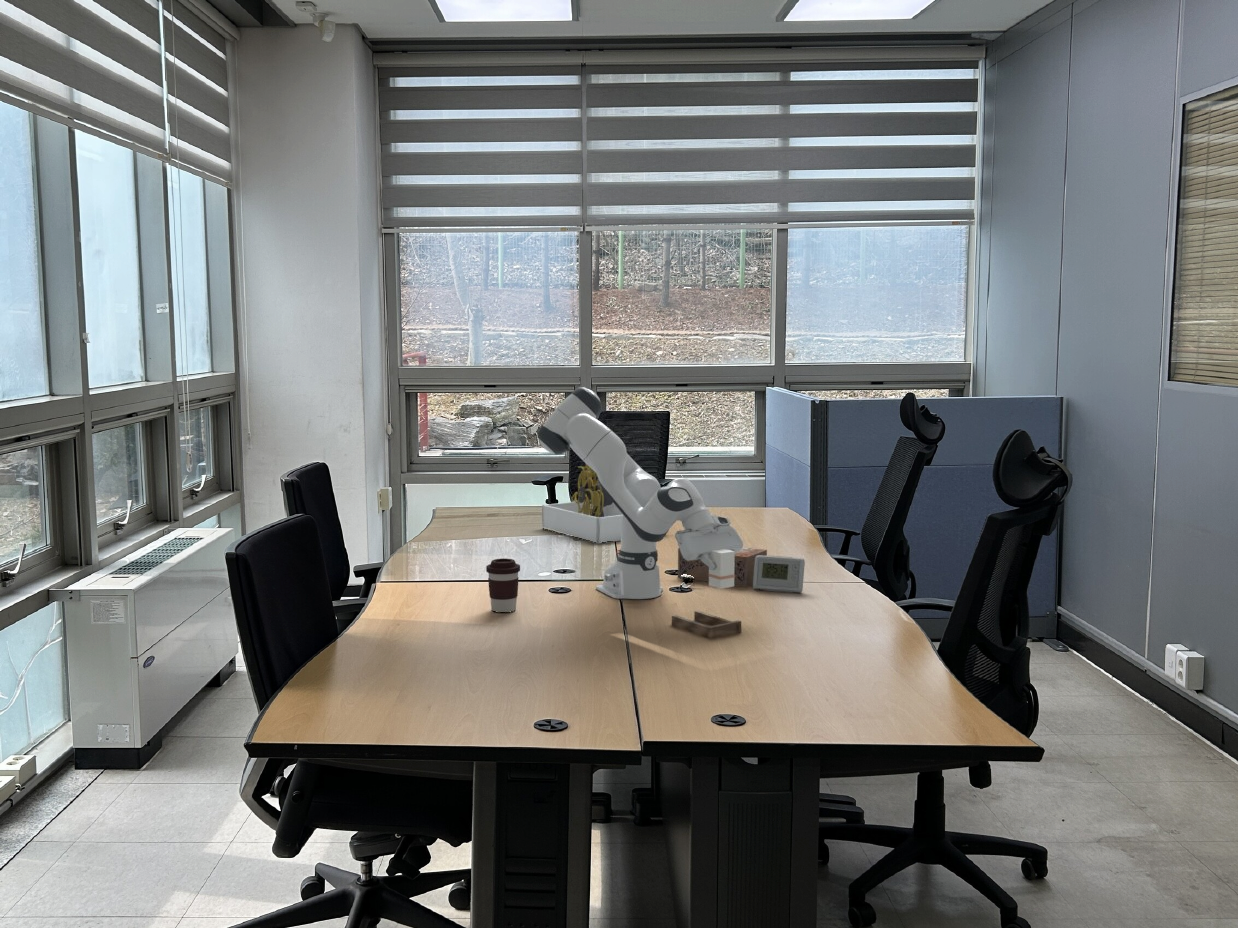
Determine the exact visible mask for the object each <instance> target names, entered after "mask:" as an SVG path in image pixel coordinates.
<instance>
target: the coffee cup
mask: <svg viewBox="0 0 1238 928" xmlns="http://www.w3.org/2000/svg"><path fill="white" fill-rule="evenodd" d="M485 568H486V569H485V570H486V573H488V578H487V580H488V583H487V584H488V592H489V599H490V609H491V611H492V610H493V611H497V612H510V611H513V612H515V611H516V610H517V601H518V599H517V598H518V595H519V572H521V565H520V564H519V563H516V561H515V559H512V558H507V557H506V558H505V557H504V558H503V557H502V558H495V559H492V560H491V562H490V564H487V565H486V567H485ZM514 610H515V611H514ZM493 611H492V612H493ZM510 613H511V612H510Z"/></svg>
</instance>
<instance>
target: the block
mask: <svg viewBox="0 0 1238 928" xmlns="http://www.w3.org/2000/svg"><path fill="white" fill-rule="evenodd" d="M734 555H735V551H731V550H727V549H721V550H714V551H711V553H709V559H710V560H711V561H712V562H715V563H716V565H717V568H716V569H715V570H710V569H709V574H708V576H709V581H708V586H710V587H712V588H716V589H722V590H723V589H726V588H732V587H735V585H734V577H735V574H734Z"/></svg>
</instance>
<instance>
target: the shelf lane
mask: <svg viewBox="0 0 1238 928" xmlns="http://www.w3.org/2000/svg"><path fill="white" fill-rule="evenodd" d="M693 618H694V619H693V620H691V619H688V618H686V617H682V616H679V615H675V614H674V615H671V624H669V626H670V627H674V628H676V629H678V630H679V629H680V630H682V631H686V632H688V633H691V634H694V635H697V636H699V637H703V638H706V639H707V640H708V639H709V640H712V639H717V638H722V637H726V636H731V635H736V634H740V633H742V620H733V621H732V620H730V619H729V620H728V619H726V618H722V617H720V616H716V615H712V614H709V613H707V612H703V611H700V610H695V611H694V616H693Z"/></svg>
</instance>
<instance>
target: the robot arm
mask: <svg viewBox="0 0 1238 928" xmlns="http://www.w3.org/2000/svg"><path fill="white" fill-rule="evenodd" d="M600 399H601V398H600V397H599V396H598V394H597V393H596V392H594V390H592V389H590V388H587V387H585V386H579V387H577V388H575V389H574V390H572V391H571V393H570V394H569V395H568V396H567V397H565V399H564V400H562V402H560V403H559V404H558V405H557V406H556V407H555V409H554V411H552V413H551V414H550V415H549V416H548V418H546V421H545V422H544V424H542V425H541V426H540V427H539V428H538V431H537V433H536V434H537V435H536V436H537V439H538V441H539V444H540V445H541V446H542V447H543V448H544V450H545V451H547V452H549V453H551V454H554V455H556V456H557V455H558V456H560V455H563V454H564V453H567V452H570V451H571V450H572V451H573V452H574V453H575V454H576V455H577V456H578V457H579V458H580V459H581V460H582V462H584V463H586V464H587V465H588V467H590V468H591V469H592V471H593V470H594V471H595V472H596V474H597V479H598V482H599V484H600V486H601V488H602V489H603V490H604V492H605V493H606V494H607V496H608V497H609V498H610V499H611V500H612V502H613V503H614V504H615V505H616V506H617V508H618V509H619V510H620V511H621V513H622V514H623V519H622V523H621V540H620V549H617V550H616V552H615V555H617V557H616V561H615V562H613V564H612V565H610V566H609V567H608V568H607V569H605V571H604V573H603V583H600V584H597V585H596V586H595V589H596V590H597V591H600V592H601V593H603V594H604V595H607V596H609V597H611V598H613V599H630V600H645V599H646V600H647V599H653V598H657V597H660V596H661V595H662V592H663V591H664V590H663V586H661V577H660V567H659V565H658V564H657V562H658V559H659V558H658V557H659V553H658V549H657V543H659V542H661V541H663V539H664V538H665V537H666V535H667V534H668V532H669V530H670V529H671V528H672V527H673V525H674V524H675V523H676V522H677V521H681V525H682V528H683V529H681V530H680V529H679V530H676V532H675V533H674V539H675V540H676V542H677V545H678V548H679V549H680V551H681V554H682V556H683V558H684V559H685V560H687V561H690V560H697V559H701V561H702V562H703V563H704V564H706V565H707V566H708V567H709V569H710V570H715V569H716V568H717V565H716V563H715V562H712V561H711V560H710V559H709V553H711V551H714V550H721V549H727V550H731V551H735V554H736V553H739V552H740V550H741V549H742V548H743V547H744V542H743V540H742V538H741V536H740V535H739V532H738V531H737V530H736V528H734V527H733V526H732V525H731V520H730V519H729V517H725V516H719V515H716V514H713V513H711V511H710V510H709V508H707V507H706V505H705V501H704V499H703V497H702V496H701V493H700V492H699V491H698V489H697V488H696V486H695V485H694V484H693V482H691V481H690V480H689V479H688V478H685V477H679V478H674V479H673V480H671V481H670V482H669V483H668V484H667V485H666V486H662V487H661V484H660V483H659V481H658V479H657V478H656V477H655V476H653V475H651V474H650V473H648V472H647V471H645V470H644V469H643V468H642V467H641V466H640V465H639V464H638V463H637V462H636V461H635V460H634V459H633V458H632V457H631V456H630V455H629V454H628V452H627V447H626V444H625V443H624V442H623V440H622V439H621V438H620V437H619V436H618V435H617V434H616V433H615V432H614V431H613V430H612V429H610V428H609V427H608V426H606V425H605V423H603V422H601V421H600V418H599V417H600V414H601V413H602V411H603V403H602V402H601V400H600ZM598 419H599V420H598ZM570 448H571V450H570ZM586 464H585V465H586ZM594 471H593V472H594ZM734 565H735V563H734Z"/></svg>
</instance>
